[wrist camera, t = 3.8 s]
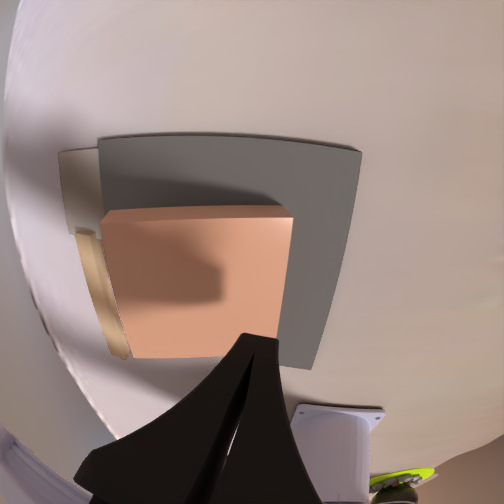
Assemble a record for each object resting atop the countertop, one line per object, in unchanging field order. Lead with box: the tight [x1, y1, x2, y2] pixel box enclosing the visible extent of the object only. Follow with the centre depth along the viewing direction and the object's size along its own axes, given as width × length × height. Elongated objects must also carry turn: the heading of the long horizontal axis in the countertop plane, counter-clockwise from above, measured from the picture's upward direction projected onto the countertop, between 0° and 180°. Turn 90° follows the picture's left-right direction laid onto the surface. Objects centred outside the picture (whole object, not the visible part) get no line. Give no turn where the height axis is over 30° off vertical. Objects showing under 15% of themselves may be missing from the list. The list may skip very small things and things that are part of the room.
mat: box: [98, 135, 362, 370], centre depth 15 cm, size 14×14×1 cm
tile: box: [99, 205, 293, 358], centre depth 13 cm, size 8×2×8 cm
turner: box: [58, 148, 131, 360], centre depth 18 cm, size 18×4×1 cm, turn 177°
